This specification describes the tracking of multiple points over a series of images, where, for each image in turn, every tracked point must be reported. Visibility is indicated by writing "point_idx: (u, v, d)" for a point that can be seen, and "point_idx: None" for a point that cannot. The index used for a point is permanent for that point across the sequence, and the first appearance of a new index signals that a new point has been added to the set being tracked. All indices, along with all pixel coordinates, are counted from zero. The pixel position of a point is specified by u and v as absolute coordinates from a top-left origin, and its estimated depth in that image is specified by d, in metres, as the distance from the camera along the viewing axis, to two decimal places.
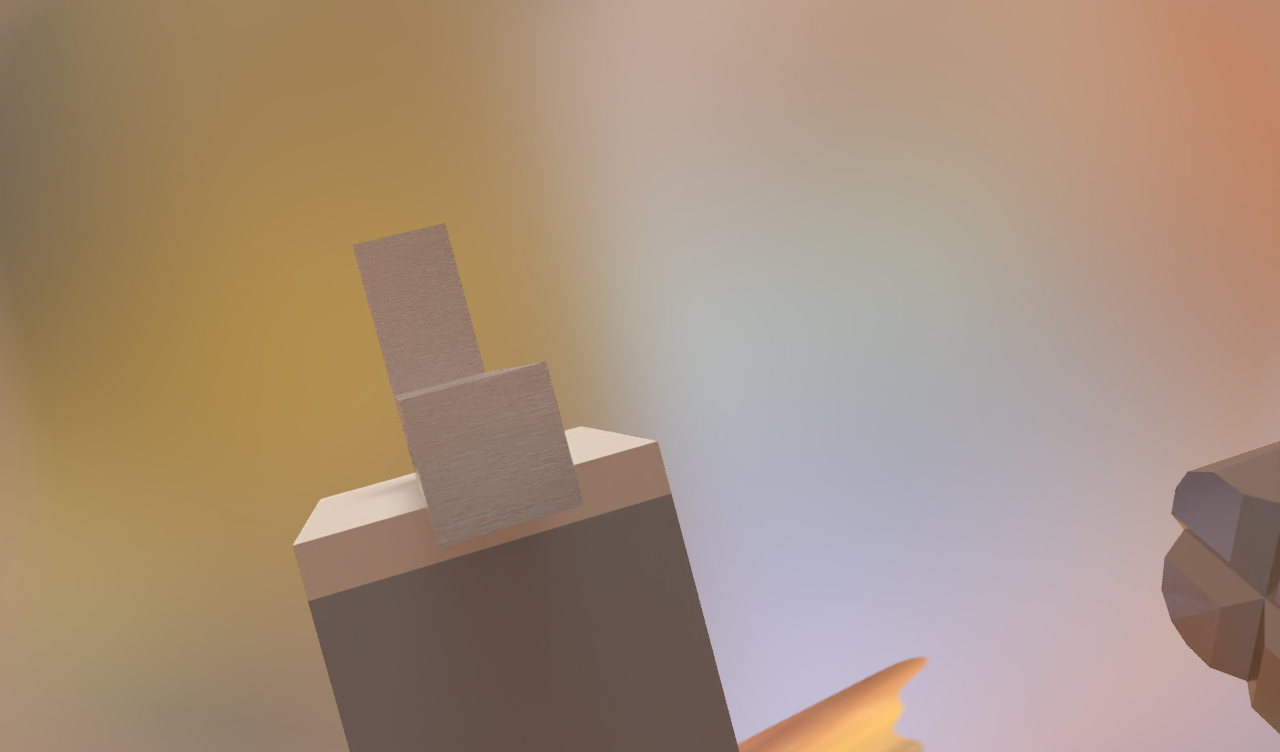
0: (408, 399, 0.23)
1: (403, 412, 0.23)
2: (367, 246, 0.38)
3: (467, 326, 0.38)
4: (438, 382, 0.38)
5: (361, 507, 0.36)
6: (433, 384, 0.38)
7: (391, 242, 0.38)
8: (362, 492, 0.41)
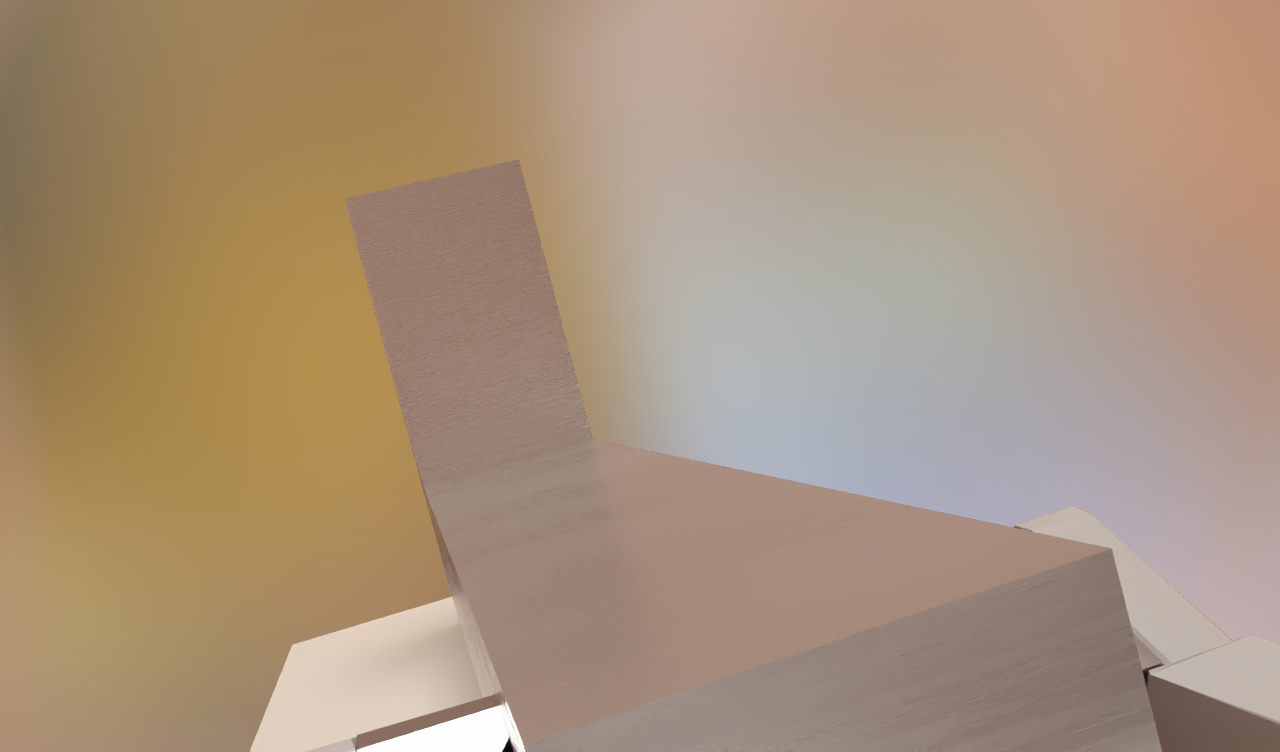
0: (565, 738, 0.05)
1: None
2: (373, 201, 0.20)
3: (560, 353, 0.20)
4: (506, 459, 0.20)
5: (360, 719, 0.18)
6: (497, 463, 0.20)
7: (418, 194, 0.20)
8: (363, 644, 0.23)
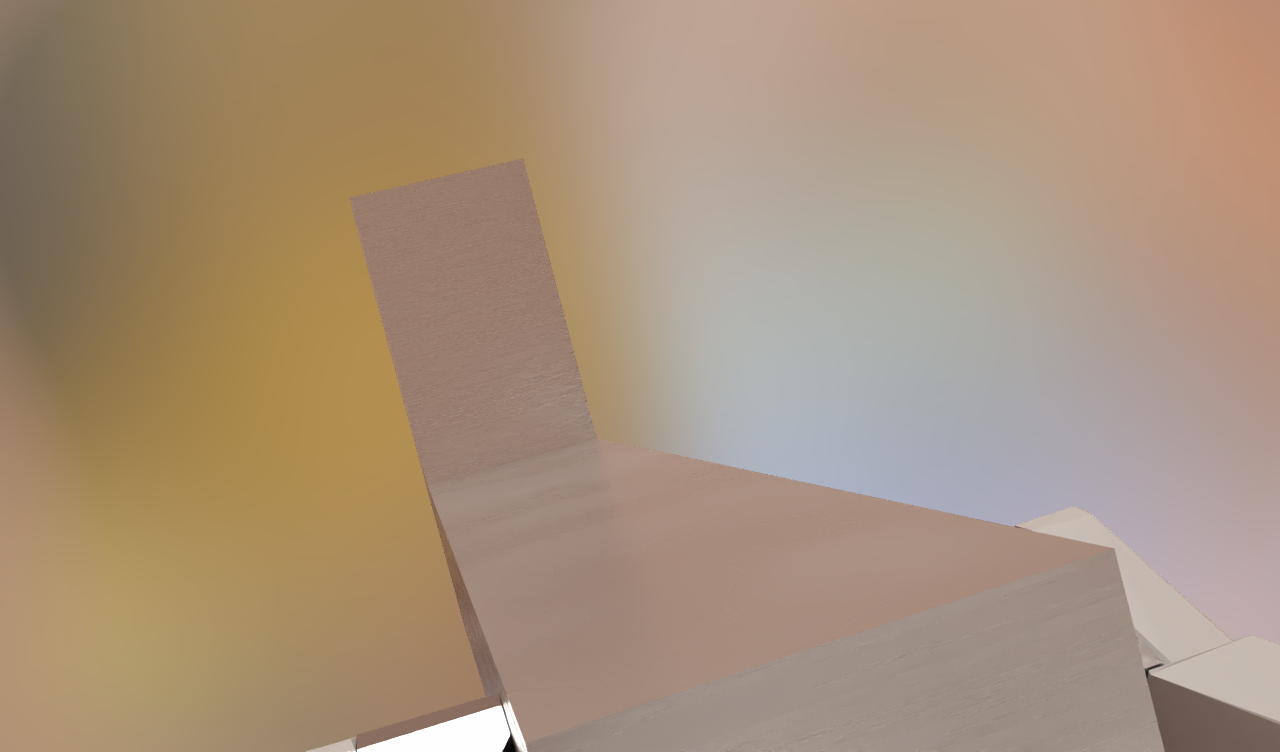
0: (567, 736, 0.05)
1: None
2: (377, 200, 0.20)
3: (564, 352, 0.20)
4: (510, 458, 0.20)
5: None
6: (501, 462, 0.20)
7: (422, 193, 0.20)
8: None
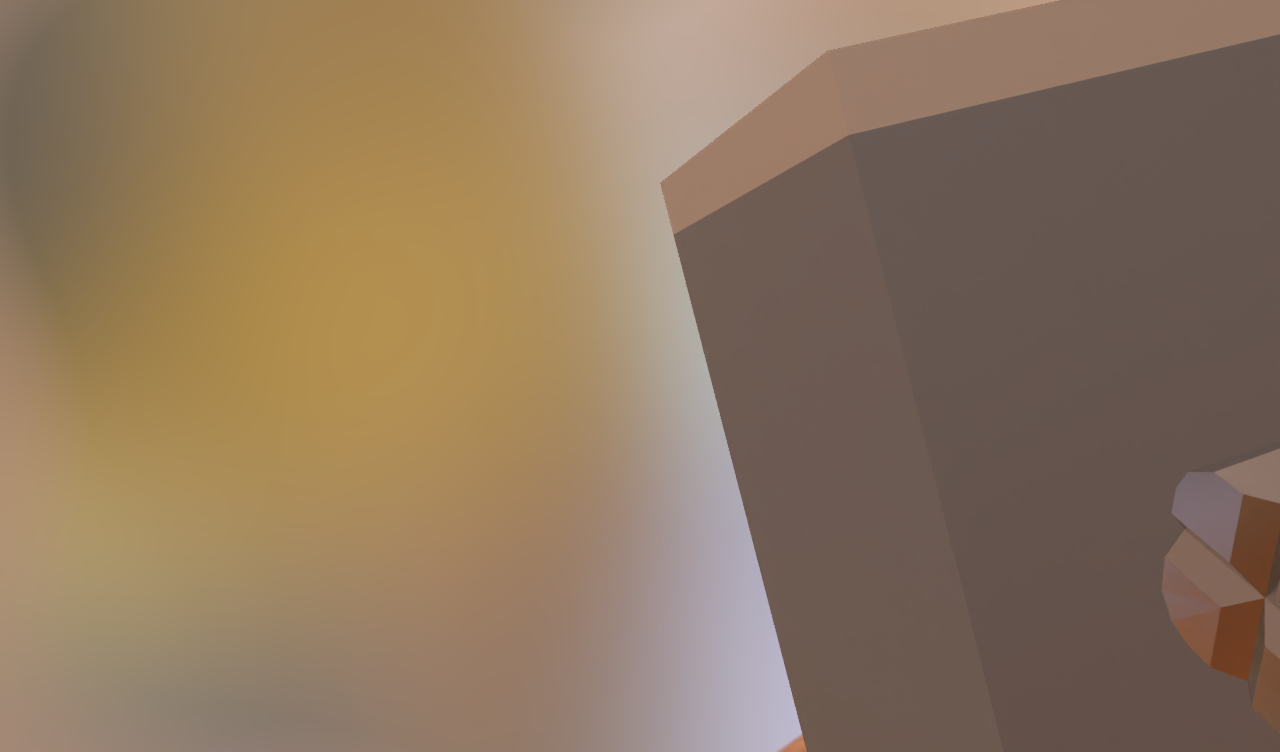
0: None
1: None
2: None
3: None
4: None
5: None
6: None
7: None
8: None
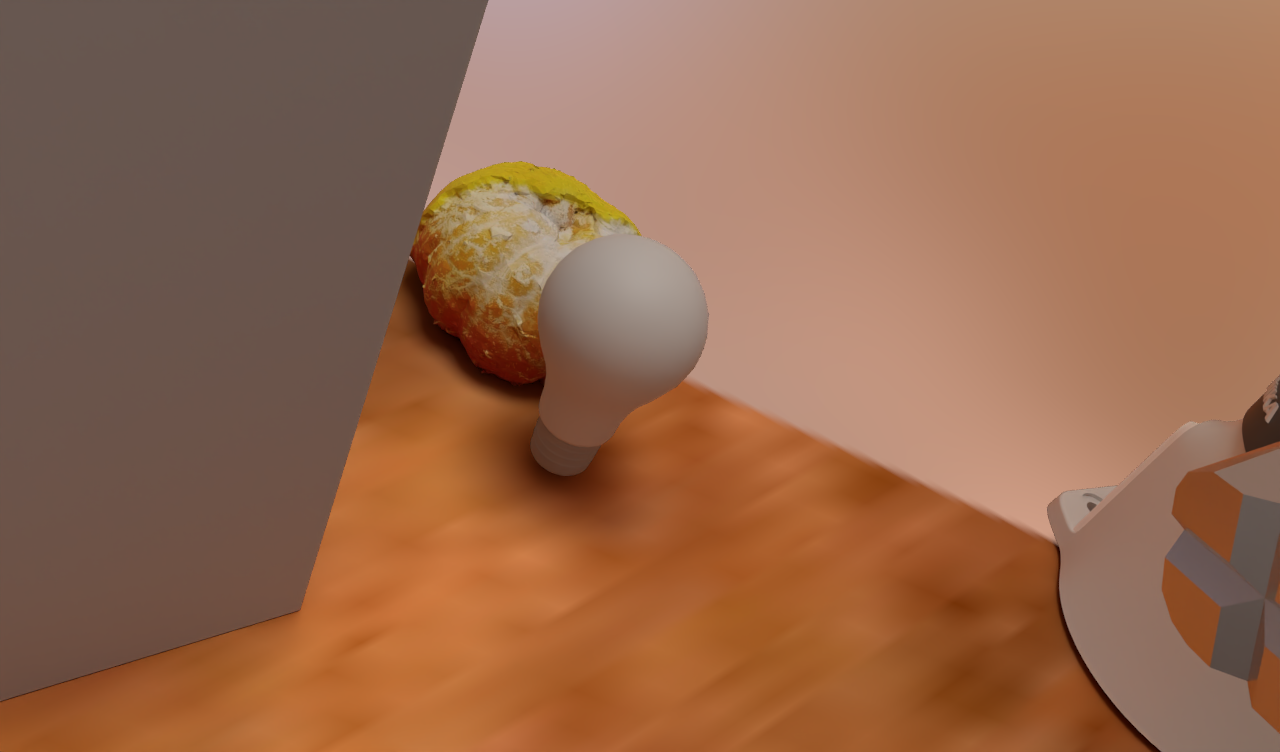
0: None
1: None
2: None
3: None
4: None
5: None
6: None
7: None
8: None
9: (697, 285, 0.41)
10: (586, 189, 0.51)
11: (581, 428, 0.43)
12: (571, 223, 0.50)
